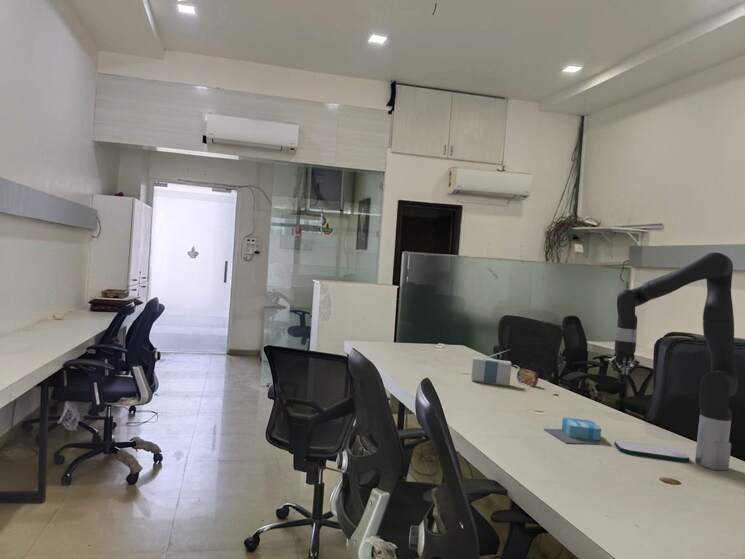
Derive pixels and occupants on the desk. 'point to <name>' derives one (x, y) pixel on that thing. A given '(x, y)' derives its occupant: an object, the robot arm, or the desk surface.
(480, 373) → the stereo radio cassette player
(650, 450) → the white blue flat slab
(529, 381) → the tin
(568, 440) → the mat
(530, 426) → the desk surface
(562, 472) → the desk surface
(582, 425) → the data package
